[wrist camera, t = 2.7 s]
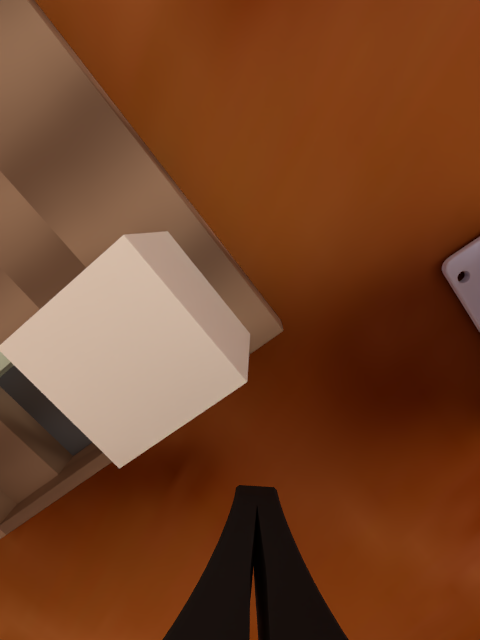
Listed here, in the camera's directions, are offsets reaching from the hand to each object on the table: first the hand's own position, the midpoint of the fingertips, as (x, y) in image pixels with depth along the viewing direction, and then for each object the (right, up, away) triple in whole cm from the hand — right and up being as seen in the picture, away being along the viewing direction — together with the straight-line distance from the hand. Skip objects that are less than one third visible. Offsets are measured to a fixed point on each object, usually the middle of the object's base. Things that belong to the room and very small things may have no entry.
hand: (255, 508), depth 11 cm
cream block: (-4, +7, +3) cm, 8 cm away
